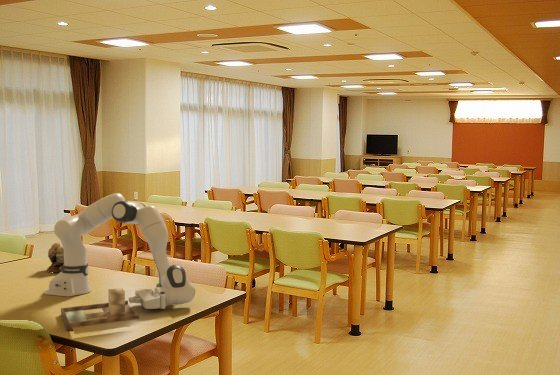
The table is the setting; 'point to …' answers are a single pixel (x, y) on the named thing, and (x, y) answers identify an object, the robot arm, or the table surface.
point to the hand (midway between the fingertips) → (129, 300)
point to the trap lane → (93, 315)
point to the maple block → (116, 301)
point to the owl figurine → (56, 258)
